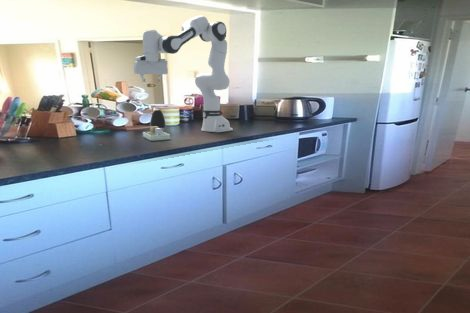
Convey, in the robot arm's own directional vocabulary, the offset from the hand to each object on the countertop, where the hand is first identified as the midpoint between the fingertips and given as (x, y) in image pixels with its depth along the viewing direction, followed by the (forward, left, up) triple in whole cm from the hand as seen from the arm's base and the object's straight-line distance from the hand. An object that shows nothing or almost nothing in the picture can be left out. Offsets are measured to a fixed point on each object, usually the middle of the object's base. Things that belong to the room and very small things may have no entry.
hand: (151, 81), depth 220 cm
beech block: (+1, +5, -33) cm, 33 cm away
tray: (+1, +9, -33) cm, 34 cm away
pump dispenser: (-8, -12, -33) cm, 36 cm away
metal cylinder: (+1, +12, -33) cm, 35 cm away
